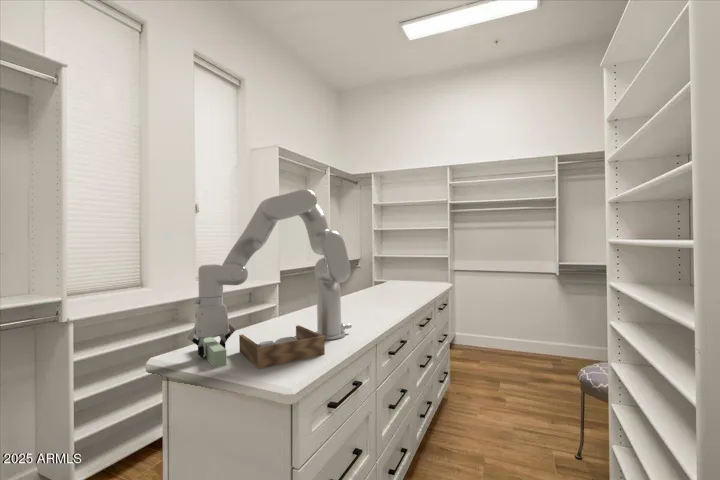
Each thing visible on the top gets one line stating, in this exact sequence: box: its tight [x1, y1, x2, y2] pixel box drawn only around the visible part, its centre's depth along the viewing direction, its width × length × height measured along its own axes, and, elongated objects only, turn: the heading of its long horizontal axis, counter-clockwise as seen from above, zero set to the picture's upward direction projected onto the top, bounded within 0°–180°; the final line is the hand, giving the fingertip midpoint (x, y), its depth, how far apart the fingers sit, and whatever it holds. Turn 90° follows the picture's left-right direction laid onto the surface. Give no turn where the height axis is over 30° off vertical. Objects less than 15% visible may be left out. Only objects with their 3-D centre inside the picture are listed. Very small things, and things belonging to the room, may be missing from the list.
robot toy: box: [256, 335, 298, 347], centre depth 119 cm, size 12×4×15 cm
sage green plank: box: [203, 337, 227, 368], centre depth 117 cm, size 23×4×5 cm, turn 35°
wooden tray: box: [238, 325, 326, 370], centre depth 119 cm, size 22×20×6 cm
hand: (211, 355), depth 117 cm, fingers open, 5 cm apart
